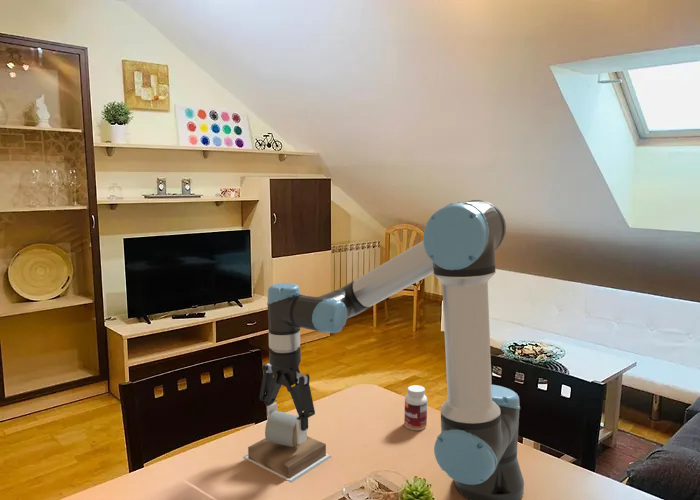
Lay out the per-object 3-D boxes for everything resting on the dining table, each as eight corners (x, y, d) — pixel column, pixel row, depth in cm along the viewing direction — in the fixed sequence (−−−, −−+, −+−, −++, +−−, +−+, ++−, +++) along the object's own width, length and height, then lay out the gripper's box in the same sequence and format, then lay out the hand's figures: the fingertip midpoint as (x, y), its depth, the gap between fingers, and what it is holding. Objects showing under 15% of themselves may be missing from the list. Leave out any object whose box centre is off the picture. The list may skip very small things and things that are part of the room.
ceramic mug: (295, 453, 127) (295, 423, 126) (264, 447, 130) (263, 417, 128) (312, 433, 137) (312, 404, 136) (283, 428, 139) (283, 400, 138)
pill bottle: (399, 425, 149) (400, 388, 147) (414, 418, 153) (414, 382, 152) (416, 433, 145) (417, 395, 143) (431, 426, 149) (432, 388, 147)
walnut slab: (325, 455, 133) (325, 444, 133) (288, 478, 123) (288, 466, 123) (286, 437, 142) (286, 427, 141) (248, 458, 132) (248, 447, 131)
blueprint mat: (332, 457, 133) (332, 455, 133) (291, 483, 122) (291, 482, 122) (284, 436, 143) (283, 434, 143) (242, 458, 132) (242, 457, 132)
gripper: (329, 353, 124) (330, 443, 128) (265, 335, 138) (267, 416, 141) (307, 362, 119) (309, 456, 122) (242, 342, 132) (245, 427, 136)
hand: (287, 435), depth 132 cm, fingers closed on ceramic mug, 9 cm apart
